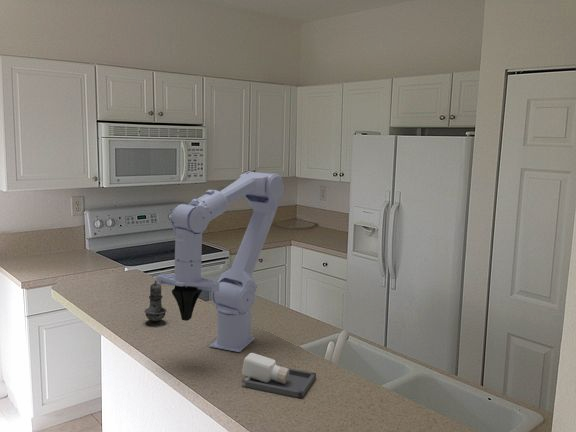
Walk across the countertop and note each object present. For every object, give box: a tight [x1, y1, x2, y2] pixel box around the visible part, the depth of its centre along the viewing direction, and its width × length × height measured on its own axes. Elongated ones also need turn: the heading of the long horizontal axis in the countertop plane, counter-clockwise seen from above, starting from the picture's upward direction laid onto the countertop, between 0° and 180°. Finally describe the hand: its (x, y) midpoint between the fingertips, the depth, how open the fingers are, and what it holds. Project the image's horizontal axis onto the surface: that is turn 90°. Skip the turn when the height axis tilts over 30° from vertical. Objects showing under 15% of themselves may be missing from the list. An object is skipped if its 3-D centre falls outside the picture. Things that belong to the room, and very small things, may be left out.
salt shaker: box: [143, 280, 168, 328], centre depth 144 cm, size 6×6×12 cm
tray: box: [241, 366, 317, 400], centre depth 113 cm, size 10×13×1 cm
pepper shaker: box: [241, 352, 289, 384], centre depth 113 cm, size 4×4×10 cm
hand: (186, 319), depth 119 cm, fingers closed
